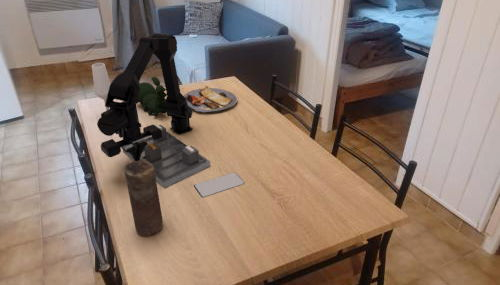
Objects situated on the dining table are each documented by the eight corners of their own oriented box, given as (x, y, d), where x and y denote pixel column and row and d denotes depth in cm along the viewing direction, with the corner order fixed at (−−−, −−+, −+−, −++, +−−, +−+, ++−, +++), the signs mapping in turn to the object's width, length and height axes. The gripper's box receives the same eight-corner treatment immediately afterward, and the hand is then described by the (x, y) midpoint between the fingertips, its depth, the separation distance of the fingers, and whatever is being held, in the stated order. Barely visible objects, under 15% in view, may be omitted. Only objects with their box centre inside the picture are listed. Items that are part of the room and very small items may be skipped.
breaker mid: (155, 153, 128) (154, 141, 125) (161, 158, 125) (160, 145, 122) (145, 158, 125) (143, 145, 123) (151, 163, 123) (149, 149, 120)
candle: (138, 217, 103) (127, 158, 93) (164, 216, 104) (156, 157, 94) (133, 237, 97) (120, 176, 86) (161, 236, 97) (152, 175, 87)
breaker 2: (192, 156, 126) (191, 144, 124) (199, 161, 124) (198, 148, 121) (182, 161, 124) (181, 148, 121) (189, 166, 121) (188, 153, 119)
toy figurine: (174, 120, 157) (148, 96, 172) (172, 80, 146) (144, 58, 162) (154, 126, 152) (129, 101, 167) (150, 85, 141) (123, 62, 156)
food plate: (172, 100, 170) (172, 93, 168) (212, 88, 184) (212, 81, 182) (205, 120, 155) (205, 113, 153) (246, 105, 169) (246, 98, 167)
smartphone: (193, 185, 116) (235, 171, 123) (193, 186, 117) (235, 173, 123) (201, 197, 111) (245, 183, 117) (201, 199, 111) (245, 184, 118)
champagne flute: (117, 115, 156) (107, 61, 144) (118, 122, 151) (107, 66, 138) (101, 118, 154) (88, 63, 142) (101, 125, 149) (88, 68, 136)
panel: (166, 135, 143) (165, 129, 141) (210, 166, 125) (209, 159, 124) (123, 151, 132) (121, 145, 131) (164, 188, 115) (163, 180, 113)
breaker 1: (161, 135, 139) (160, 122, 136) (167, 139, 136) (165, 126, 134) (152, 138, 136) (150, 126, 134) (157, 142, 134) (156, 130, 131)
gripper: (143, 103, 123) (149, 142, 131) (88, 120, 112) (98, 162, 121) (160, 114, 116) (166, 155, 125) (104, 134, 106) (113, 177, 114)
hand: (136, 161), depth 121 cm, fingers closed
